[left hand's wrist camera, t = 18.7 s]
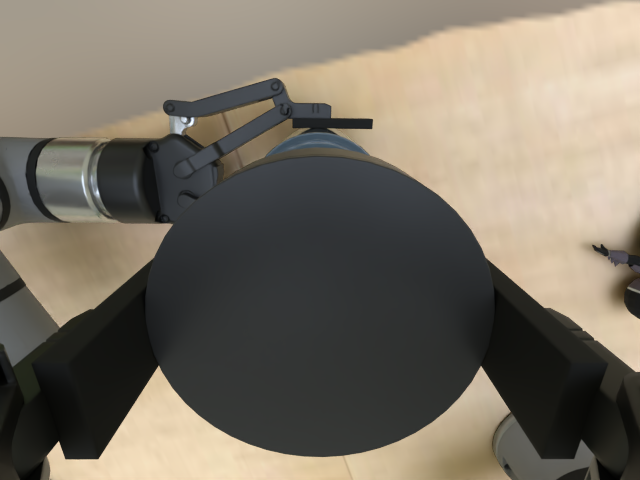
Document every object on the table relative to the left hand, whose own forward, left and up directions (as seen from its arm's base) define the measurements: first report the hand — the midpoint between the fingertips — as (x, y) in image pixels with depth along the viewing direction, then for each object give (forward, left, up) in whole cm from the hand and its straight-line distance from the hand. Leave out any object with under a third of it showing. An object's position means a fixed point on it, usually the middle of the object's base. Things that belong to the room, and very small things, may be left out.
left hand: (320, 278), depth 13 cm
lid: (0, 0, +3) cm, 3 cm away
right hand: (-4, -2, -18) cm, 19 cm away
